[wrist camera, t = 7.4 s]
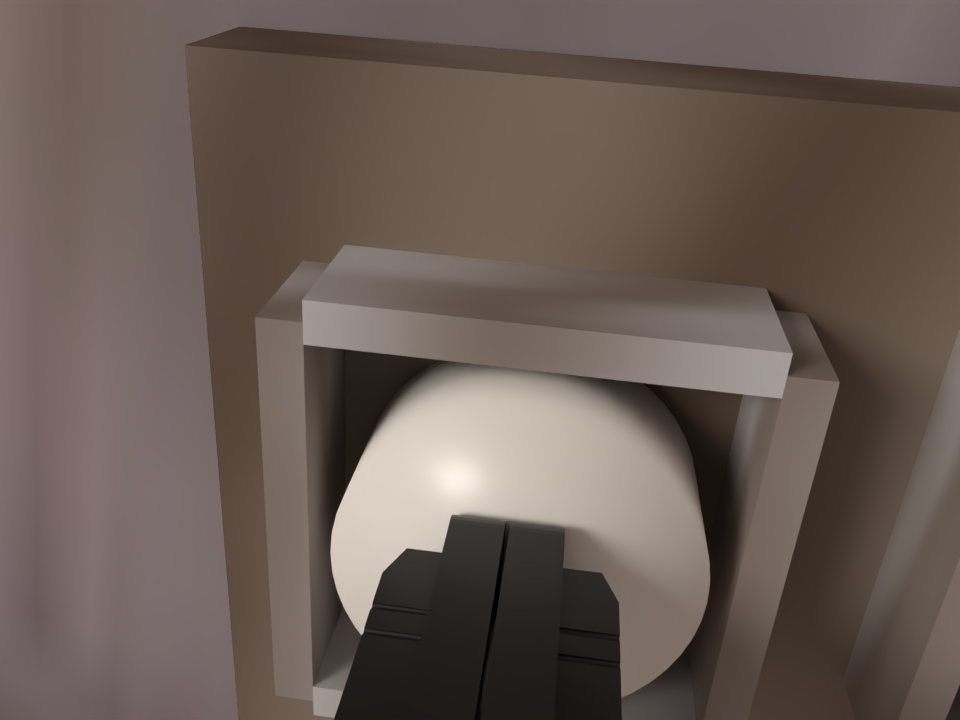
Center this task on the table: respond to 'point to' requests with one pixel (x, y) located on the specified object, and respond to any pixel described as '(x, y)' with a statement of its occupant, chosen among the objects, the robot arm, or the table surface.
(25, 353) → the table surface
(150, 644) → the table surface
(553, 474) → the button
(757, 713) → the button board
